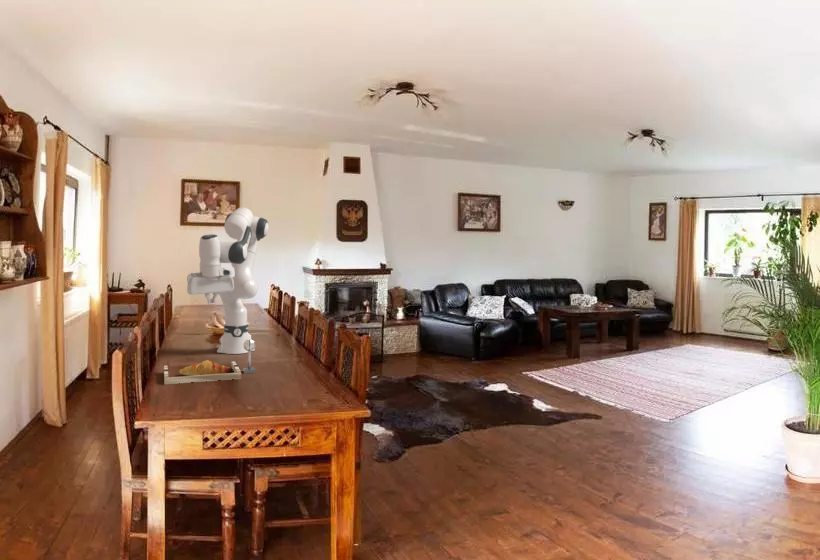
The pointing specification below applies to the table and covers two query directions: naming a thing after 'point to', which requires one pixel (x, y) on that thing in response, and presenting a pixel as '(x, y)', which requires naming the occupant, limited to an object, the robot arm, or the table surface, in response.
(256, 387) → the table surface
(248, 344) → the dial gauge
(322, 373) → the table surface
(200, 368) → the croissant
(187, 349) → the table surface
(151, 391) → the table surface
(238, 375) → the frame
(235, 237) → the robot arm
